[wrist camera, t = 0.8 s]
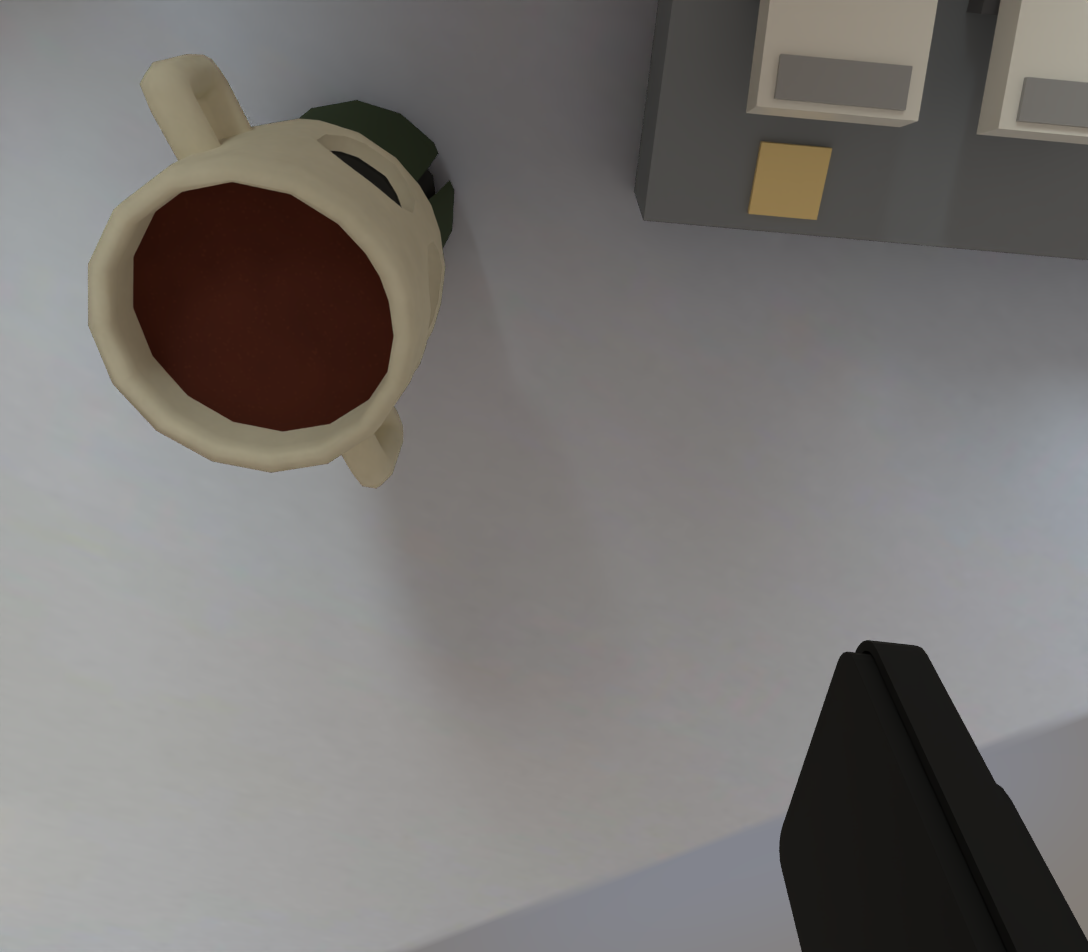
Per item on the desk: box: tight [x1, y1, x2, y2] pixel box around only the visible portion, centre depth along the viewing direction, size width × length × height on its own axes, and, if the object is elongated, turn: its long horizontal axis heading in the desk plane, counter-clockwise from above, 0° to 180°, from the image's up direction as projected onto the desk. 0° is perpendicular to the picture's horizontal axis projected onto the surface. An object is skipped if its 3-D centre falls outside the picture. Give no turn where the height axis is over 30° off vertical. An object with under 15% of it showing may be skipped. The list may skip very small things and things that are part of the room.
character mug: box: [88, 54, 454, 488], centre depth 26 cm, size 11×7×13 cm, turn 22°
